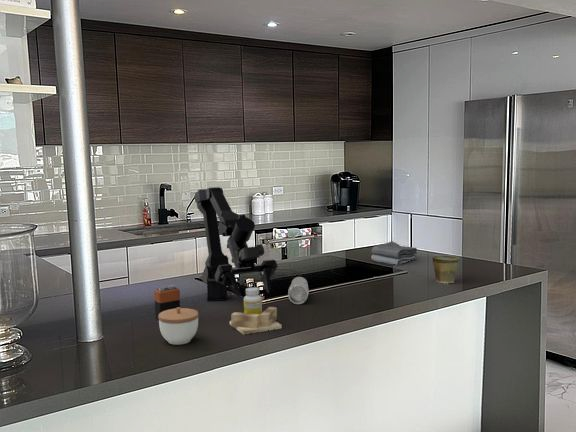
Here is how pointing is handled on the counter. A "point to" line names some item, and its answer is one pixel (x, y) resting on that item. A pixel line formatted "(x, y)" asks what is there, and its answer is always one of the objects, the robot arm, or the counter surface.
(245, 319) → the v block
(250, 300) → the supplement bottle
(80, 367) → the counter surface
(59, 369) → the counter surface
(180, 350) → the counter surface
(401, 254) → the towel
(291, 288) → the beer glass
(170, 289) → the battery
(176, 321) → the lidded jar
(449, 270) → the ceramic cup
